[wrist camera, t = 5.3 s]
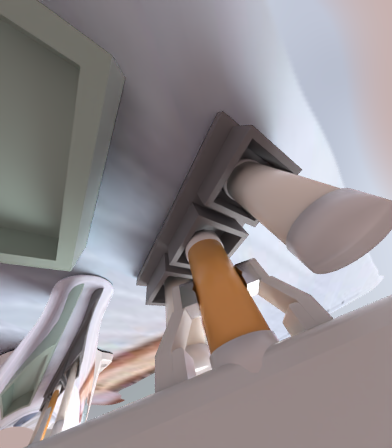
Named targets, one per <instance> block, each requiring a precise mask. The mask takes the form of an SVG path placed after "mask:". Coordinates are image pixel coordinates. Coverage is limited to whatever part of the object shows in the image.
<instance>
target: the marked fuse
mask: <svg viewBox="0 0 392 448" xmlns="http://www.w3.org/2000/svg"><path fill="white" fill-rule="evenodd" d="M185 253H186V257H187V260H188V262H189V265H190V269H191V273H192V278H193V282H194V286H195V290H196V295H197V298H198V302H199V306H200V312H201V316H202V320H203V324H204V329H205V333H206V337H207V341H208V345H209V350H210V354H211V355H210V358H209V359H210V363H211V368H212V369H214V368H216V367H219V366H221V365H224V364H228V363H234V364H239V365H241V366H242V367H244V368H245V369H247V370H248V371H249V372H251V373H258V372H259V370H260V368H261V367H262V357H263V355H264V353H265V351H266V349H267V348H268V347H269V346H270V345H272V344H274V343H276V342H279V340H278V338H277V336H276V335H275V333H274V332H273V331H271V330H270V328H269V327H268V325H267V323H266V321H265V320H264V318H263V316H262V314H261V313H260V311H259V309H258V307H257V306H256V304H255V302H254V300H253V299H252V297H251V295H250V293H249V292H248V290H247V288H246V286H245V285H244V283H243V281H242V279H241V278H240V276H239V274H238V272H237V271H236V269H235V267H234V265H233V264H232V262H231V260H230V258H229V257H228V255H227V253H226V251H225V250H224V246H223V244H222V242H221V240H220V239H219V237H218V235H217V234H216V233H215V232H213V231H211V230H199V231H196V232H195V233H194V234H193V236H192V238H191V239H190V241H189V243H188V244H187V246H186V247H185Z"/></svg>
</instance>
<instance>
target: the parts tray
mask: <svg viewBox="0 0 392 448" xmlns="http://www.w3.org/2000/svg"><path fill="white" fill-rule="evenodd" d="M124 81H125V76H124V75H123V73H122V71H121V70H120V68H119V66H118V64H117V63H116V61H115V59H114V58H113V56H112V55H111V54H109V53H108V52H107V51H105V50H104V49H103V48H101V47H100V46H99V45H97V44H96V43H95V42H93V41H92V40H90V39H89V38H88V37H86V36H85V35H84V34H82V33H81V32H80V31H78V30H77V29H76V28H74V27H73V26H72V25H70V24H69V23H67V22H66V21H65V20H63V19H62V18H61V17H59V16H58V15H57V14H55V13H54V12H53V11H51V10H50V9H48V8H47V7H46V6H44V5H43V4H42V3H40V2H39V1H38V0H0V263H5V264H13V265H21V266H29V267H38V268H46V269H54V270H62V271H70V272H71V270H72V269H73V267H74V265H75V264H76V262H77V261H78V259H79V257H80V256H81V254H82V252H83V251H84V249H85V248H86V244H87V240H88V236H89V232H90V227H91V223H92V219H93V214H94V210H95V206H96V202H97V197H98V193H99V189H100V184H101V180H102V176H103V171H104V167H105V163H106V159H107V154H108V150H109V146H110V141H111V137H112V133H113V129H114V124H115V120H116V116H117V111H118V107H119V103H120V99H121V94H122V90H123V86H124Z"/></svg>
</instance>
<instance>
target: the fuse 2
mask: <svg viewBox="0 0 392 448" xmlns="http://www.w3.org/2000/svg"><path fill="white" fill-rule="evenodd" d="M222 190H223V192H224V193H225V194H227V195H228V196H229V197H230V198H231V199H233V200H235V201H236V202H237V203H239V204H240V205H241V206H242V207H243V208H244V209H245V210H246V211H248V212H249V213H250V214H251V215H252V216H253V217H254V218H256V219H257V220H258V221H259V222H260V223H261V224H262V225H264V226H265V227H266V228H267V229H268V230H269V231H270V232H272V233H273V234H274V235H275V236H276V237H277V238H278V239H280V240H281V241H282V242H283V243H284V244H285V245H286V246H287V249H288V250H289V251H290V252H291V253H292V254H293V255H294V256H295V257H297V258H298V259H299V260H300V261H301V262H302V263H303V264H304V265H305V266H307V267H308V268H309V269H310V270H311V271H312V272H313V273H316V274H326V273H330V272H333V271H336V270H339V269H341V268H343V267H345V266H347V265H349V264H351V263H353V262H354V261H356V260H358V259H359V258H361V257H362V256H364V255H365V254H366V253H368V252H369V251H370V250H371V249H373V248H374V247H375V246H376V245H377V244H378V243H379V242H381V241H382V240H383V239H384V238H385V237H386V236H387V234H388V233H389V232H390V231H391V230H392V201H391V200H388V199H384V198H381V197H377V196H374V195H371V194H367V193H364V192H361V191H357V190H354V189H350V188H342V189H340V188H337V187H334V186H331V185H327V184H324V183H321V182H318V181H314V180H311V179H308V178H305V177H302V176H298V175H295V174H292V173H289V172H285V171H282V170H279V169H276V168H272V167H269V166H266V165H263V164H260V163H258V162H257V161H255V160H251V159H248V158H244V157H241V158H240V160H239V161H238V163H237V164H236V166H235V168H234V169H233V171H232V173H231V174H230V176H229V177H228V179H227V181H226V182H225V184H224V186H223V187H222Z"/></svg>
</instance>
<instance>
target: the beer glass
mask: <svg viewBox="0 0 392 448" xmlns="http://www.w3.org/2000/svg"><path fill="white" fill-rule="evenodd" d="M113 293H114V288H113V286H112V284H111V283H110V282H109V281H107V280H106V279H104V278H101V277H98V276H94V275H73V276H69V277H66V278H63V279H61V280H60V281H58V282H57V283H56V284H55V285H54V287H53V289H52V291H51V294H50V297H49V299H48V302H47V304H46V306H45V308H44V310H43V312H42V314H41V316H40V317H39V319H38V320H37V322H36V323H35V325H34V326H33V327H32V329H31V330H30V332H29V333H28V334H27V335H26V337H25V338H24V339H23V340H22V341H21V343H20V344H19V345H18V346H17V348H16V349H15V350H14V351H13V352H12V353H11V355H10V356H9V357H8V358H7V359H6V360H5V362H4V363H3V364H2V365H1V366H0V448H24V447H26V446H29V445H31V444H33V443H36V442H38V441H41V440H43V439H45V438H48V437H50V436H53V435H55V434H57V433H60V432H62V431H65V430H67V429H69V428H72V427H74V426H77V425H79V424H82V423H84V422H86V418H87V413H88V409H89V403H90V397H91V391H92V385H93V377H94V369H95V361H96V353H97V344H98V337H99V330H100V326H101V322H102V319H103V316H104V313H105V311H106V308H107V306H108V304H109V302H110V300H111V298H112V296H113Z"/></svg>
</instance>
